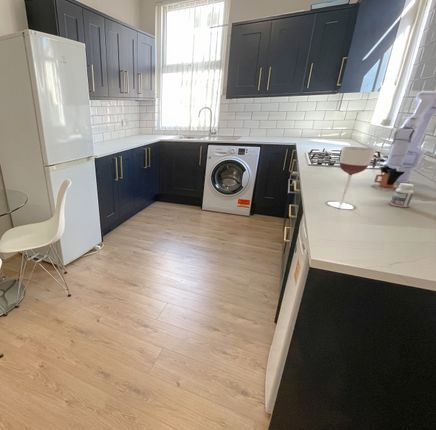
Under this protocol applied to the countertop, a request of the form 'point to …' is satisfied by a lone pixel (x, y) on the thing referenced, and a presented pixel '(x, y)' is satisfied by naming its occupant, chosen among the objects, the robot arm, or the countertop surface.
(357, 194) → the countertop surface
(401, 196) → the pill bottle
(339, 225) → the countertop surface
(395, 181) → the robot arm
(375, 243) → the countertop surface
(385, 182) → the mug
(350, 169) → the wineglass
